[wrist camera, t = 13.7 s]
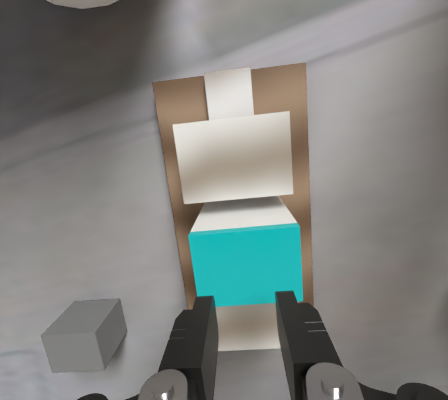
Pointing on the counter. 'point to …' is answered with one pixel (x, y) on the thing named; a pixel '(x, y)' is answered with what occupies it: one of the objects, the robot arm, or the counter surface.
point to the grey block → (85, 336)
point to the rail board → (266, 101)
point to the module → (246, 251)
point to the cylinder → (82, 3)
